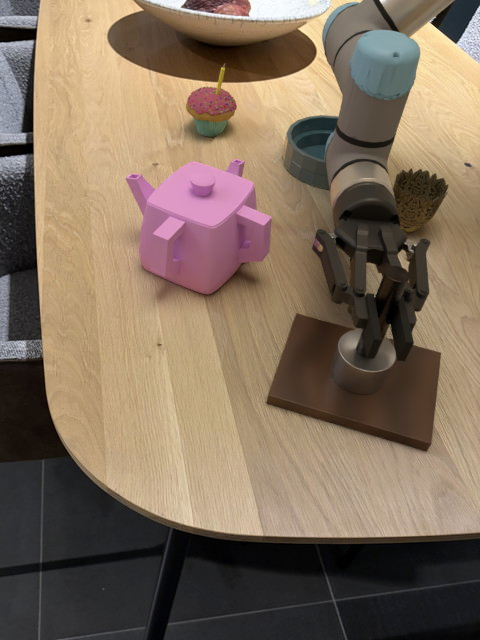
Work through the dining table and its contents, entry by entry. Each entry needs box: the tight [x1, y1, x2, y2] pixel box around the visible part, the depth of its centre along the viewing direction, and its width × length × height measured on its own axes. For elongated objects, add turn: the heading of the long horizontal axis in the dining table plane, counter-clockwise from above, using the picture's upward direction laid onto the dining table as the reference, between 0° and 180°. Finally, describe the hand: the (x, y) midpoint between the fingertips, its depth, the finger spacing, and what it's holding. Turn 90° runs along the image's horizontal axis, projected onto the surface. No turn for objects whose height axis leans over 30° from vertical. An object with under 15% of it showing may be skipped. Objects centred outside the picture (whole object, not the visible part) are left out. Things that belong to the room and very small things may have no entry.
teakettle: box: [125, 158, 273, 296], centre depth 79 cm, size 17×17×12 cm
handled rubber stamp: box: [330, 266, 410, 394], centre depth 64 cm, size 6×6×15 cm
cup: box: [392, 168, 449, 234], centre depth 88 cm, size 8×7×8 cm
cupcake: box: [185, 63, 238, 138], centre depth 102 cm, size 9×8×12 cm
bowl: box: [282, 114, 339, 190], centre depth 99 cm, size 15×15×5 cm
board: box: [266, 312, 442, 452], centre depth 70 cm, size 18×14×2 cm
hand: (389, 350), depth 59 cm, fingers closed on handled rubber stamp, 2 cm apart
